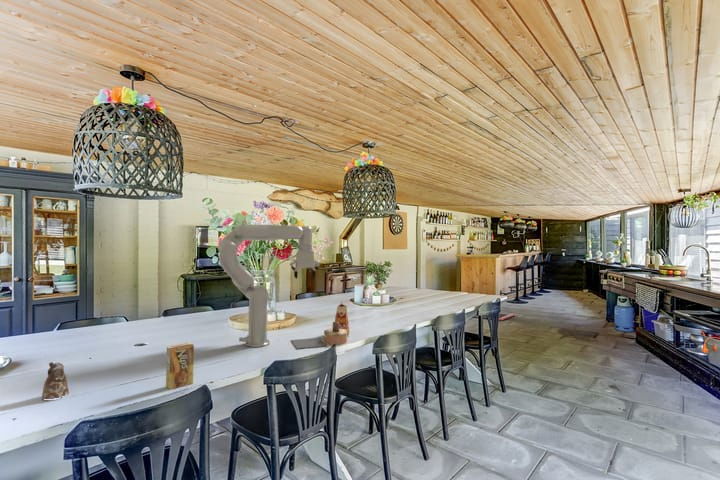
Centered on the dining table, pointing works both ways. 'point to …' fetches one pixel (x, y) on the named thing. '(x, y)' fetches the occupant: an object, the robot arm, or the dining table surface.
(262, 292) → the robot arm
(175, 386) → the candy box
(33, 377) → the dining table surface
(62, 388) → the figurine
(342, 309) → the milk carton
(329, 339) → the bowl
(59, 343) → the dining table surface
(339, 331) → the lid
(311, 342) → the mat
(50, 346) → the dining table surface
